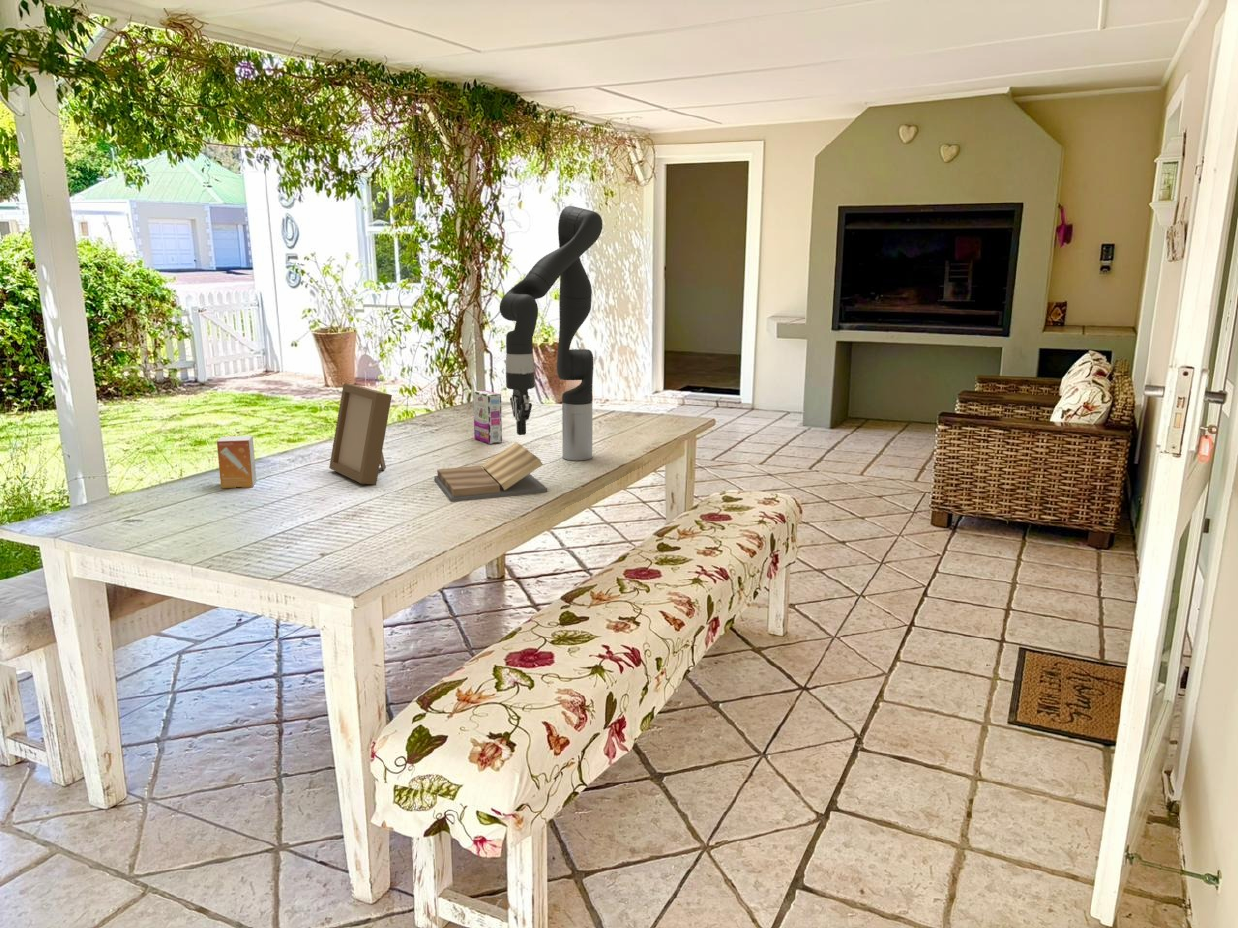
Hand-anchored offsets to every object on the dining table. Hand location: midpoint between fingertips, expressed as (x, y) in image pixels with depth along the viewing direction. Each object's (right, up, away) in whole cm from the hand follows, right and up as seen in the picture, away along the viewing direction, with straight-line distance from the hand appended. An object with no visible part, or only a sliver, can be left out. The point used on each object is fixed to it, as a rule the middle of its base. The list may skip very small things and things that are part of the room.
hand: (521, 434), depth 235 cm
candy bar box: (-17, 0, +56) cm, 58 cm away
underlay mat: (-8, -14, 0) cm, 16 cm away
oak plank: (-3, -9, +2) cm, 9 cm away
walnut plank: (-14, -14, -2) cm, 20 cm away
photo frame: (-44, -11, +11) cm, 47 cm away
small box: (-76, -14, -1) cm, 77 cm away
